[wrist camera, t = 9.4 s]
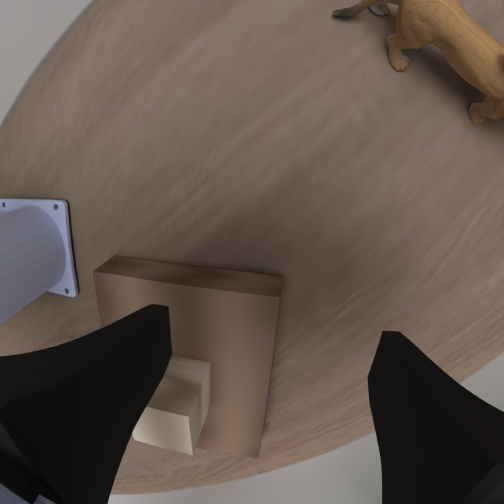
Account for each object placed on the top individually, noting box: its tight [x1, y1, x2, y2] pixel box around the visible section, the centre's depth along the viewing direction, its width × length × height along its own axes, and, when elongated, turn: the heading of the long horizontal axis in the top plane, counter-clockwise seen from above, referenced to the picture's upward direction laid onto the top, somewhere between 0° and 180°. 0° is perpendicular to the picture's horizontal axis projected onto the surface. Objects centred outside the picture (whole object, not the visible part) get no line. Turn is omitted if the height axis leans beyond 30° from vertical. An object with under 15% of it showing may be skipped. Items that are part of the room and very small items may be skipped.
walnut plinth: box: [93, 256, 283, 458], centre depth 23 cm, size 12×16×3 cm
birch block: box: [132, 355, 211, 455], centre depth 19 cm, size 4×4×5 cm
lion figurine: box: [333, 0, 504, 123], centre depth 11 cm, size 15×5×9 cm, turn 72°
